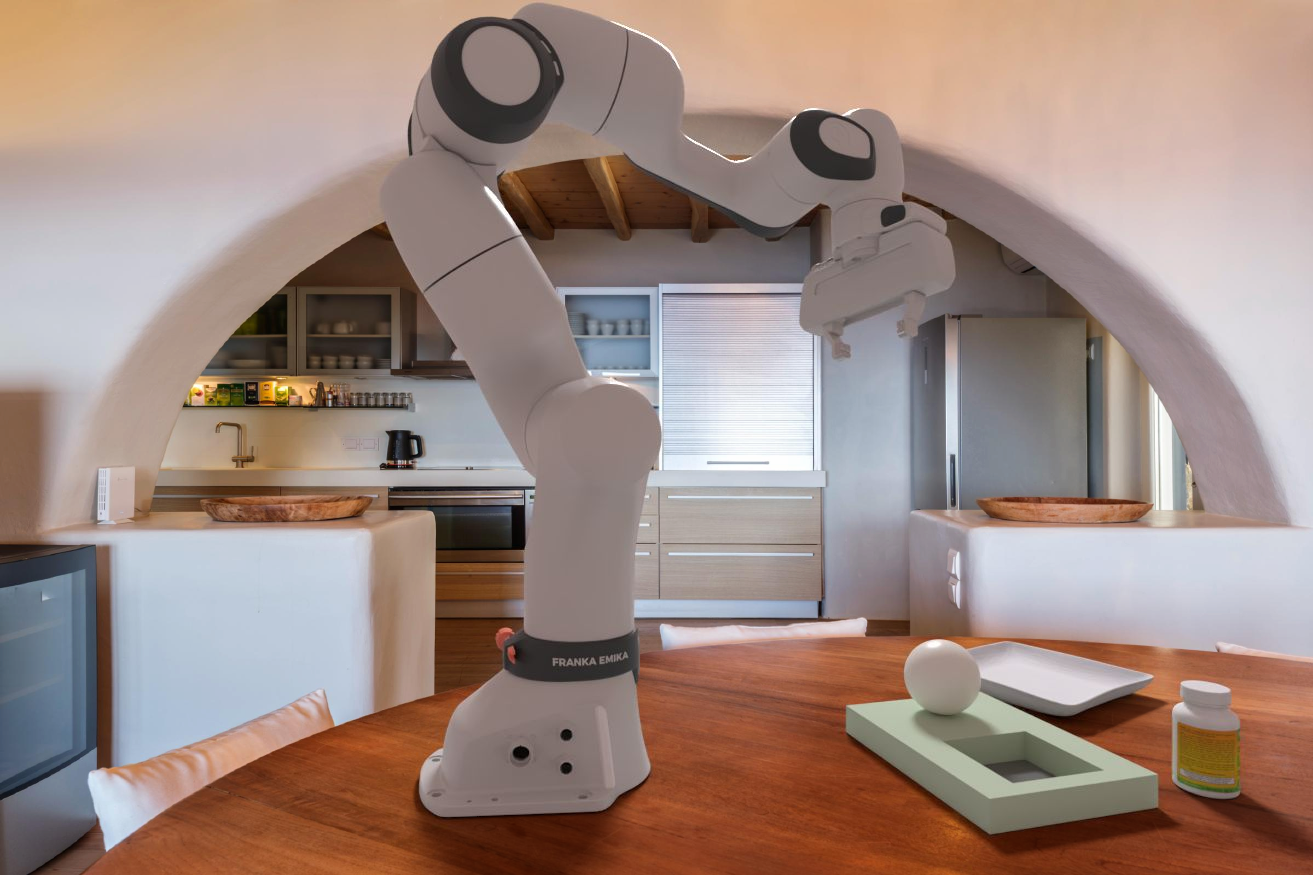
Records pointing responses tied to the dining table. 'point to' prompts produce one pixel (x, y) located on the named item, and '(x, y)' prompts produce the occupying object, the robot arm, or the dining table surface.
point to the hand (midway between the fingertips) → (873, 348)
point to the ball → (942, 677)
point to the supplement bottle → (1206, 741)
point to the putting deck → (1002, 764)
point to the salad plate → (1051, 678)
